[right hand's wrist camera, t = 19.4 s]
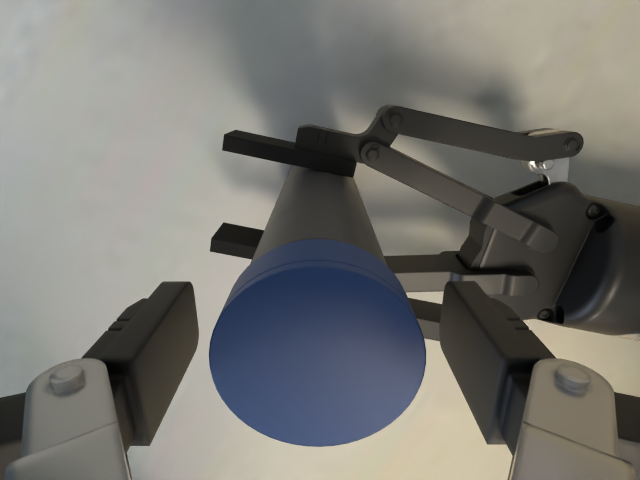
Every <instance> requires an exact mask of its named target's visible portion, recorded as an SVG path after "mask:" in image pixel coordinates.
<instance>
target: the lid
mask: <svg viewBox="0 0 640 480" xmlns="http://www.w3.org/2000/svg"><path fill="white" fill-rule="evenodd" d="M209 363H210V370H211V374H212V379H213V381H214V384H215V386H216V389H217V391H218V393H219V394H220V396H221V398H222V400H223V401H224V402H225V404H226V405H227V406H228V407H229V409H230V410H231V411H232V412H233V413H234V414H235V415H236V416H237V417H238V418H239V419H240V420H242V421H243V422H244V423H246V424H247V425H248V426H250V427H251V428H253V429H255V430H256V431H258V432H260V433H262V434H264V435H266V436H268V437H270V438H273V439H276V440H279V441H282V442H286V443H290V444H295V445H302V446H316V447H322V446H335V445H341V444H346V443H350V442H354V441H357V440H360V439H363V438H365V437H368V436H370V435H372V434H374V433H376V432H378V431H380V430H382V429H383V428H385V427H386V426H388V425H389V424H391V423H392V422H393V421H394V420H395V419H396V418H398V417H399V416H400V415H401V414H402V413H403V412H404V411H405V409H406V408H407V407H408V406H409V405H410V403H411V402H412V400H413V399H414V397H415V395H416V393H417V391H418V390H419V388H420V385H421V382H422V379H423V376H424V371H425V365H426V348H425V341H424V337H423V334H422V331H421V328H420V325H419V323H418V321H417V318H416V316H415V314H414V311H413V309H412V307H411V304H410V302H409V299H408V297H407V295H406V293H405V291H404V289H403V287H402V285H401V283H400V281H399V280H398V278H397V277H396V275H395V274H394V273H393V272H392V271H391V270H390V269H389V268H388V266H387V265H386V264H384V263H383V262H382V261H381V260H379V259H378V258H377V257H375V256H374V255H372V254H370V253H369V252H367V251H365V250H363V249H361V248H358V247H356V246H354V245H350V244H347V243H344V242H339V241H333V240H323V239H312V240H301V241H297V242H292V243H288V244H285V245H282V246H279V247H277V248H275V249H273V250H271V251H269V252H267V253H265V254H264V255H262V256H261V257H259V258H258V259H256V260H255V261H254V262H253V263H252V264H250V265H249V266H248V267H247V268H246V269H245V270H244V272H243V273H242V274H241V275H240V276H239V278H238V280H237V281H236V283H235V284H234V286H233V288H232V290H231V292H230V295H229V297H228V299H227V301H226V303H225V305H224V308H223V310H222V312H221V314H220V316H219V318H218V321H217V323H216V325H215V328H214V330H213V333H212V337H211V341H210V349H209Z"/></svg>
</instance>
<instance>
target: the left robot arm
mask: <svg viewBox="0 0 640 480" xmlns="http://www.w3.org/2000/svg"><path fill="white" fill-rule="evenodd" d="M398 134H402V135H406V136H411V137H415V138H420V139H425V140H429V141H434V142H438V143H443V144H447V145H452V146H457V147H461V148H466V149H470V150H475V151H479V152H484V153H489V154H493V155H498V156H502V157H507V158H511V159H516V160H520V163H521V166H522V167H523V168H524V169H526V170H528V171H531V172H534V173H537V174H538V175H539V179H540V180H539V181H536V182H534V183H531V184H529V185H526V186H524V187H521V188H519V189H516V190H514V191H511V192H509V193H506V194H504V195H502V196H499V197H497V198H492V197H490V196H488V195H486V194H484V193H482V192H480V191H478V190H476V189H474V188H472V187H470V186H467V185H465V184H463V183H461V182H459V181H457V180H455V179H453V178H451V177H449V176H447V175H445V174H443V173H441V172H439V171H437V170H435V169H433V168H431V167H429V166H427V165H425V164H423V163H421V162H419V161H417V160H415V159H413V158H411V157H409V156H407V155H405V154H403V153H401V152H399V151H397V150H395V149H393V148H391V147H390V145H391V144H392V142H393V141H394V139H395V138H396V136H397V135H398ZM582 147H583V138H582V136H581V135H580V134H579V133H577V132H571V131H564V130H557V129H550V128H543V129H536V130H529V131H522V132H511V131H506V130H502V129H497V128H493V127H488V126H484V125H479V124H475V123H471V122H466V121H462V120H457V119H453V118H448V117H444V116H439V115H435V114H430V113H426V112H421V111H417V110H412V109H408V108H404V107H399V106H392V105H385V106H383V107H381V108H380V109H379V110H378V112H377V114H376V117H375V119H374V120H373V122H372V123H371V125H370V126H369V128H368V129H367V130H366V131H365V132H363V133H360V134H351V133H347V132H342V131H337V130H333V129H328V128H324V127H319V126H315V125H310V124H309V125H304V126H299V128H298V132H297V137H296V143H294V142H290V141H285V140H280V139H276V138H271V137H266V136H262V135H257V134H252V133H248V132H243V131H239V130H234V131H232V132H229V133H227V134H224V140H223V148H222V150H224V151H228V152H233V153H238V154H242V155H247V156H252V157H257V158H261V159H266V160H271V161H276V162H280V163H285V164H290V165H294V166H299V167H304V168H309V169H313V170H318V171H323V172H328V173H332V174H337V175H342V176H346V177H351V178H353V176H354V172H355V168H356V164H357V163H356V162H359V163H363V164H366V165H367V166H369V167H371V168H373V169H375V170H377V171H379V172H381V173H383V174H385V175H387V176H390V177H392V178H394V179H396V180H398V181H400V182H402V183H404V184H406V185H408V186H410V187H412V188H414V189H416V190H418V191H420V192H422V193H424V194H426V195H428V196H430V197H432V198H434V199H437V200H439V201H441V202H443V203H445V204H447V205H449V206H451V207H453V208H455V209H457V210H459V211H461V212H463V213H465V214H467V215H469V216H471V217H472V218H471V221H470V229H469V236H468V238H467V239H466V241H465V242H464V243H463V245H462V246H461V249H460V251H444V252H441V253H440V254H438V255H406V256H384V258H385V261H386V263H387V266H388V268H389V269H390V270H391V271H392V272H393V273H394V274H395V275H396V277H397V278H398V280H399V281H400V283H401V285H402V287H403V289H404V291H405V292H434V291H444V288H445V285H446V283H447V282H448V281H475V282H476V283H477V284H478V285H479V286H480V287H481V289H482V290H483V291H484V292H485V293H486V294H487V296H488V297H489V298H496V299H497V300H499V301H501V302H502V303H504V304H506V305H507V306H509V307H511V308H512V310H513V311H514V312H515V313H516V314H517V315H518V316H519V317H520V320H521V321H523V320H528V319H538V320H542V321H545V322H548V323H552V324H555V325H559V326H564V327H569V328H575V329H580V330H585V331H590V332H596V333H601V334H606V335H615V336H619V337H622V338H627V339H632V340H638V341H640V207H639V206H634V205H630V204H625V203H620V202H616V201H611V200H607V199H602V198H597V197H593V196H588V195H584V194H583V193H581V192H580V191H579V189H578V188H577V187H576V186H574V185H573V184H571V183H568V173H569V160H570V157H572V156H575V155H576V154H578V153H579V152H580V150H581V149H582ZM263 233H264V230H259V229H254V228H249V227H244V226H239V225H233V224H228V223H223V224H222V225H221V227H220V228H219V229H218V231H217V232H216V233H215V234H214V236H213V237H212V239H211V247H210V251H211V252H216V253H221V254H227V255H232V256H237V257H242V258H247V259H253V256H254V254H255V252H256V249H257V247H258V245H259V242H260V240H261V237H262V235H263ZM408 299H409V302H410V304H411V307H412V309H413V311H414V314H415V316H416V318H417V321H418V323H419V325H420V328H421V331H422V334H423V337H424V338H426V339H431V340H437V341H440V338H439V328H440V319H441V311H442V304H437V303H432V302H427V301H422V300H417V299H412V298H408Z"/></svg>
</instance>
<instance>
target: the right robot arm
mask: <svg viewBox="0 0 640 480" xmlns="http://www.w3.org/2000/svg"><path fill="white" fill-rule="evenodd" d="M198 338H199V328H198V320H197V312H196V305H195V297H194V289H193V286H192V284H191V282H162V283H161V284H160V285H159V286H158V287H157V289H156V290H155V291H154V292H153V293H152V294H151V296H150V297H149V298H148V299H141V300H140V301H138V302H136V303H135V304H133V305H131V306H129V307H128V308H126V310H125V311H124V312H123V313H122V314H121V315H120V316H119V317H118V318H117V321H115V322H114V323H113V324H112V325H111V326H110V327H109V328H108V331H106V332H105V333H104V334H103V335H102V336H101V337H100V338H99V339H98V340H97V342H96V343H95V344H94V345H93V346H92V347H91V348H90V349H89V350H88V351H87V353H86V354H85V355H84V356H83V357H82V358H81V359H76V360H71V361H67V362H64V363H61V364H59V365H56V366H54V367H52V368H50V369H48V370H46V371H45V372H43V373H42V374H40V375H39V376H38V377H36V378H35V379H34V380H33V381H32V382H31V384H30V385H29V386H28V388H27V391H26V392H25V393H21V394H16V395H12V396H7V397H2V398H0V480H132V475H131V471H130V466H129V462H128V457H127V451H128V449H129V447H130V446H150V444H151V442H152V440H153V438H154V436H155V434H156V432H157V430H158V428H159V425H160V423H161V421H162V419H163V417H164V415H165V413H166V411H167V409H168V407H169V405H170V403H171V401H172V399H173V397H174V395H175V393H176V391H177V388H178V386H179V384H180V382H181V380H182V378H183V376H184V374H185V372H186V370H187V368H188V366H189V364H190V362H191V360H192V358H193V356H194V353H195V351H196V349H197V345H198ZM439 338H440V344H441V348H442V351H443V353H444V355H445V357H446V359H447V361H448V363H449V366H450V368H451V370H452V372H453V374H454V376H455V378H456V380H457V382H458V384H459V386H460V388H461V391H462V393H463V395H464V397H465V399H466V401H467V403H468V405H469V407H470V409H471V411H472V413H473V416H474V418H475V420H476V422H477V424H478V426H479V428H480V430H481V432H482V434H483V436H484V438H485V441H486V443H487V444H507V446H508V448H509V450H510V452H511V454H512V455H513V457H512V462H511V466H510V471H509V475H508V480H640V397H635V396H631V395H626V394H621V393H616V392H614V391H613V388H612V386H611V385H610V384H609V382H608V381H607V380H606V379H605V378H604V377H602V376H601V375H600V374H598V373H597V372H595V371H594V370H592V369H590V368H588V367H586V366H584V365H581V364H579V363H576V362H573V361H569V360H564V359H557V358H556V357H555V356H554V355H553V354H552V353H551V352H550V351H549V350H548V348H547V347H546V346H545V345H544V344H543V343H542V342H541V341H540V340H539V338H538V337H537V336H536V335H535V334H534V333H533V332H532V331H531V330H529V327H528V326H527V325H526V324H525V323H524V322H523V321H521V320H520V317H519V316H518V315H517V314H516V313H515V312H514V311H513V310H512V308H511V307H509V306H507V305H506V304H504V303H502V302H501V301H499V300H497V299H496V298H489V297H488V296H487V294H486V293H485V292H484V291H483V290H482V289H481V287H480V286H479V285H478V284H477V283H476V282H475V281H448V282H447V283H446V285H445V288H444V295H443V303H442V311H441V319H440V328H439Z"/></svg>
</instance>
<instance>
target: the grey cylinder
mask: <svg viewBox="0 0 640 480" xmlns="http://www.w3.org/2000/svg"><path fill="white" fill-rule="evenodd" d="M312 239H323V240H333V241H339V242H344V243H347V244H350V245H354V246H356V247H358V248H361V249H363V250H365V251H367V252H369V253H370V254H372V255H374V256H375V257H377V258H378V259H379V260H381V261H382V262H383V263H384V264H386V265H387V263H386V261H385V258H384V255H383V253H382V250H381V248H380V245H379V243H378V240H377V237H376V235H375V232H374V230H373V227H372V225H371V222H370V219H369V217H368V214H367V212H366V209H365V207H364V204H363V201H362V199H361V196H360V194H359V191H358V189H357V186H356V183H355V181H354V178H351V177H346V176H342V175H337V174H332V173H328V172H323V171H318V170H313V169H309V168H304V167H299V166H294V165H292V167H291V169H290V171H289V173H288V176H287V178H286V181H285V183H284V185H283V188H282V190H281V192H280V195H279V197H278V200H277V202H276V204H275V207H274V209H273V211H272V214H271V216H270V218H269V221H268V223H267V226H266V228H265V230H264V233H263V235H262V237H261V240H260V242H259V245H258V247H257V249H256V252H255V254H254V256H253V259H252V261H251V264H252V263H253V262H254V261H255V260H256V259H258V258H259V257H261V256H262V255H264V254H265V253H267V252H269V251H271V250H273V249H275V248H277V247H279V246H282V245H285V244H288V243H292V242H297V241H301V240H312Z"/></svg>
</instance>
